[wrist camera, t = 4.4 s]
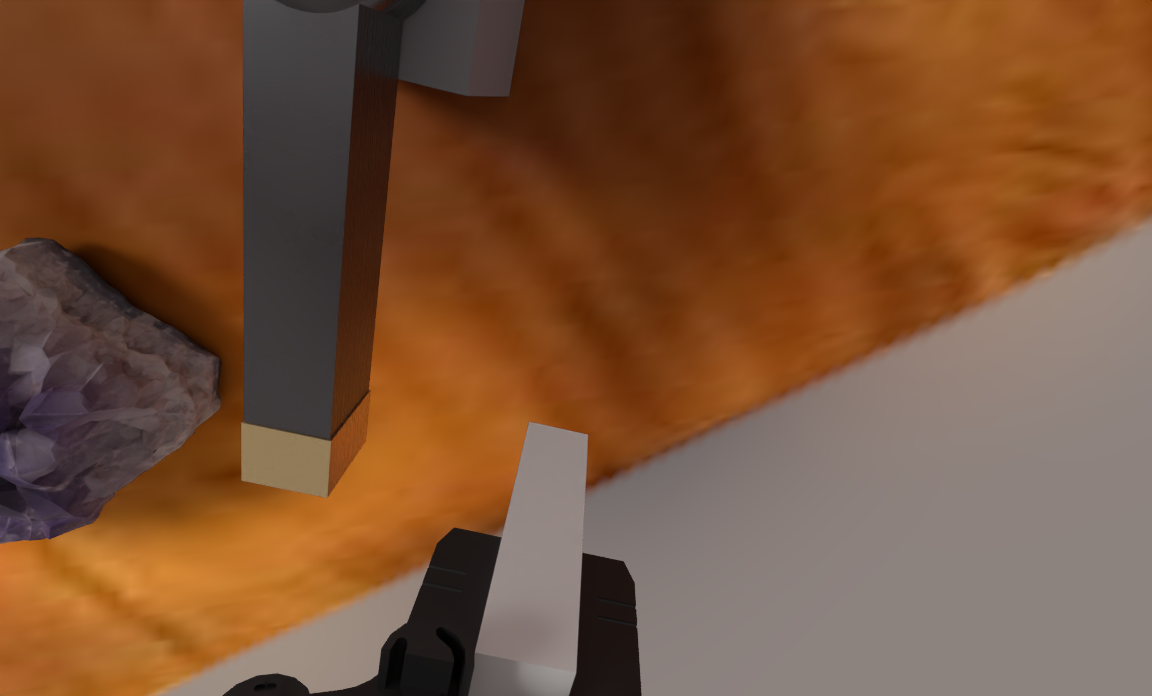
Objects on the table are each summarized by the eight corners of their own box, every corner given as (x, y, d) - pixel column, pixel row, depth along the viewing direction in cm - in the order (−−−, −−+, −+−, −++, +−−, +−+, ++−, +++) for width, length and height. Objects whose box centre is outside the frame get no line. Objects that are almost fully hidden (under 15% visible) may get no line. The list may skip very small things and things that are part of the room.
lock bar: (270, 420, 20) (215, 475, 17) (282, -190, 13) (196, -266, 11) (387, 445, 20) (352, 503, 17) (454, -143, 14) (416, -206, 11)
